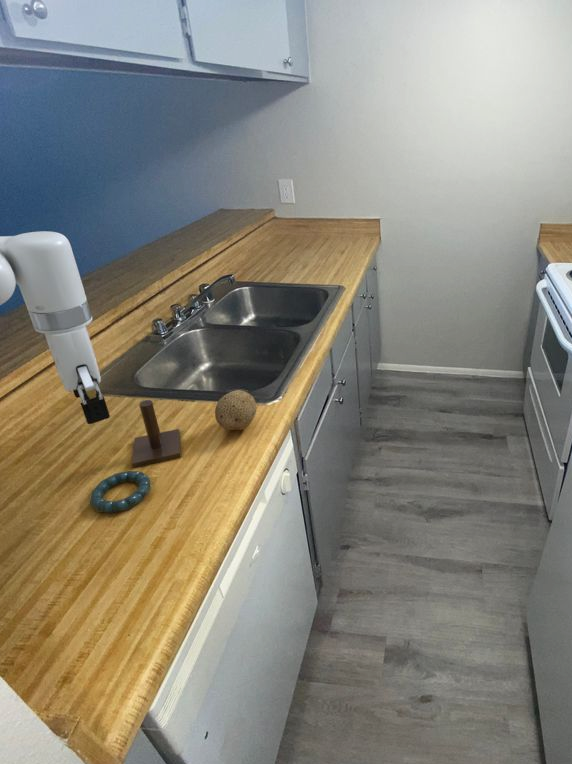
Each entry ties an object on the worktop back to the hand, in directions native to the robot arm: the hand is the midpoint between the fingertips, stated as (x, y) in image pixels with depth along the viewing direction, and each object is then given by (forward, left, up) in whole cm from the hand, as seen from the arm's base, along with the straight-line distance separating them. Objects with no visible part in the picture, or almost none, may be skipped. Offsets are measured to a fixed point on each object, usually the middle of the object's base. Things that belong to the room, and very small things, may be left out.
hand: (92, 406), depth 80 cm
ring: (0, +1, -20) cm, 20 cm away
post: (+6, +13, -21) cm, 26 cm away
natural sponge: (+23, +14, -21) cm, 34 cm away
